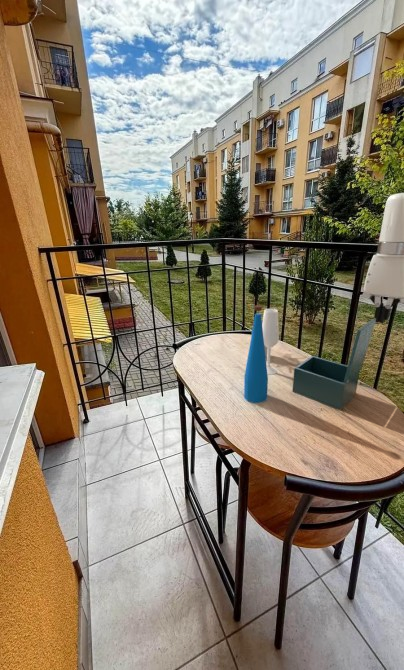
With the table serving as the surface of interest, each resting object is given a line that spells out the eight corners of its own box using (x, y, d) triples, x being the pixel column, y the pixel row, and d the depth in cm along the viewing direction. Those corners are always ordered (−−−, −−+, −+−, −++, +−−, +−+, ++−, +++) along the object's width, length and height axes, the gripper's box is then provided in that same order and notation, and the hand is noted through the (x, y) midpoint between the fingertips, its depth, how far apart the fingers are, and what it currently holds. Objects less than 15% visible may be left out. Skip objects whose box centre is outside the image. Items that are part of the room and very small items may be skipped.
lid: (357, 329, 73) (360, 330, 73) (373, 318, 81) (376, 319, 81) (343, 382, 80) (346, 383, 79) (358, 367, 88) (361, 368, 87)
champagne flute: (277, 375, 104) (281, 313, 96) (259, 374, 105) (261, 312, 97) (276, 367, 110) (280, 308, 102) (259, 366, 112) (261, 307, 103)
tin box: (292, 391, 93) (294, 368, 90) (309, 377, 102) (312, 355, 98) (340, 410, 83) (344, 384, 80) (355, 393, 91) (360, 369, 88)
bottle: (241, 400, 90) (242, 308, 79) (247, 388, 96) (250, 302, 85) (263, 405, 87) (268, 310, 76) (269, 393, 93) (274, 304, 82)
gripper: (437, 249, 65) (417, 323, 72) (366, 247, 75) (355, 313, 82) (431, 251, 60) (411, 331, 67) (356, 249, 70) (345, 319, 77)
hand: (380, 321), depth 74 cm, fingers closed
